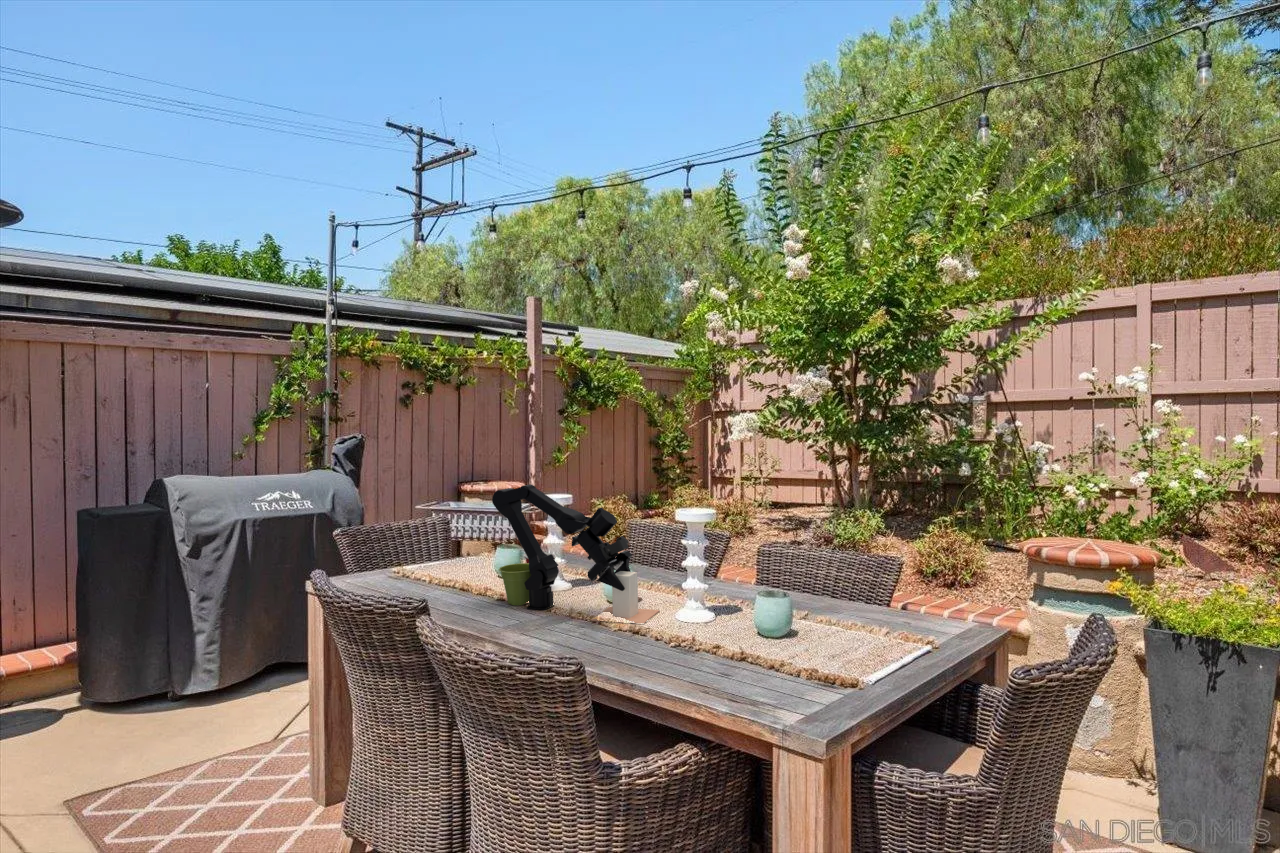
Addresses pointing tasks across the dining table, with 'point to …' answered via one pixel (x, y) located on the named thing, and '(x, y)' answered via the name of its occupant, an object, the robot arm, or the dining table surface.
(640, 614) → the terracotta mat
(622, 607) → the cream block
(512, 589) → the plant pot
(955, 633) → the dining table surface
